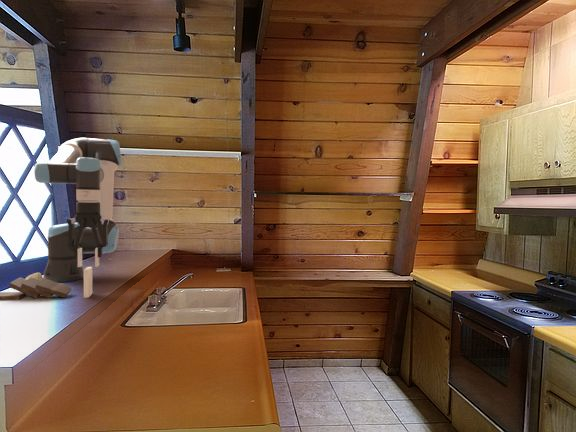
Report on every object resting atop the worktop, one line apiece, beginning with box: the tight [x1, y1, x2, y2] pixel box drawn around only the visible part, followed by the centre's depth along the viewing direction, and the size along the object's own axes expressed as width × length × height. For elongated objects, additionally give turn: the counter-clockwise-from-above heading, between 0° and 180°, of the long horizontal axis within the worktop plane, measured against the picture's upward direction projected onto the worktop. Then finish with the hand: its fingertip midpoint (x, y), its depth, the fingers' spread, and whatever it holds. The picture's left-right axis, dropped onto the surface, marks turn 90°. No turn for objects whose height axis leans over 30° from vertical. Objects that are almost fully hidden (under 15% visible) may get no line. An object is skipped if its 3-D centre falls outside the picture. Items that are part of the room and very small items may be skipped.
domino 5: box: [83, 266, 93, 299], centre depth 138 cm, size 2×5×10 cm, turn 13°
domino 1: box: [0, 291, 27, 301], centre depth 132 cm, size 2×5×10 cm
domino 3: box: [21, 277, 54, 299], centre depth 135 cm, size 2×5×10 cm
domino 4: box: [35, 278, 73, 299], centre depth 135 cm, size 2×5×10 cm
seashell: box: [24, 272, 43, 281], centre depth 141 cm, size 8×8×8 cm
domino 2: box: [8, 276, 42, 299], centre depth 134 cm, size 2×5×10 cm
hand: (88, 266), depth 138 cm, fingers open, 5 cm apart
